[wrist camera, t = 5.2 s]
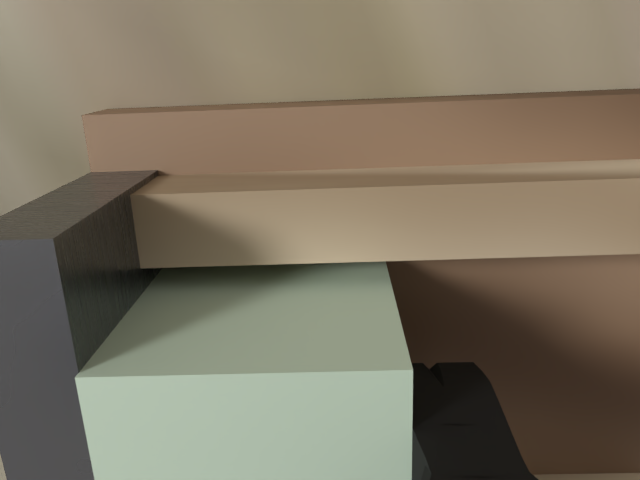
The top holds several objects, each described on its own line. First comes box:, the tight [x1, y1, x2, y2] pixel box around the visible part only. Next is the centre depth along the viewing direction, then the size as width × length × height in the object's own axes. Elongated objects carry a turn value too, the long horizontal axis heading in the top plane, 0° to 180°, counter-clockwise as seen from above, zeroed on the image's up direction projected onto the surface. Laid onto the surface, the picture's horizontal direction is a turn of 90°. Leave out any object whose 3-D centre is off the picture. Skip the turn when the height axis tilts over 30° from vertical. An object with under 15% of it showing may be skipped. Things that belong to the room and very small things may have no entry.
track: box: [0, 89, 640, 480], centre depth 10 cm, size 10×10×5 cm
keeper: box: [75, 261, 413, 480], centre depth 9 cm, size 5×4×4 cm
